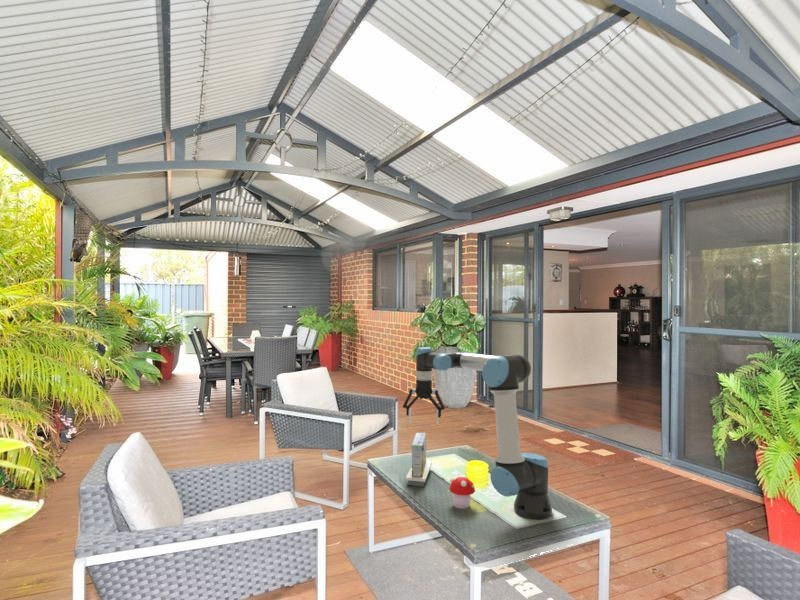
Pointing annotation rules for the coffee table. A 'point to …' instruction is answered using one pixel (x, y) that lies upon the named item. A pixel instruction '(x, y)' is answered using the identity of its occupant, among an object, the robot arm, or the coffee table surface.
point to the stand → (418, 480)
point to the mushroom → (461, 492)
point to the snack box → (418, 454)
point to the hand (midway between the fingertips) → (423, 423)
